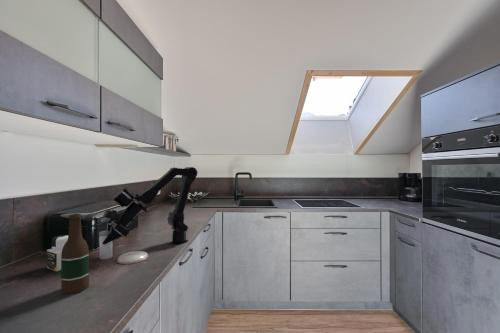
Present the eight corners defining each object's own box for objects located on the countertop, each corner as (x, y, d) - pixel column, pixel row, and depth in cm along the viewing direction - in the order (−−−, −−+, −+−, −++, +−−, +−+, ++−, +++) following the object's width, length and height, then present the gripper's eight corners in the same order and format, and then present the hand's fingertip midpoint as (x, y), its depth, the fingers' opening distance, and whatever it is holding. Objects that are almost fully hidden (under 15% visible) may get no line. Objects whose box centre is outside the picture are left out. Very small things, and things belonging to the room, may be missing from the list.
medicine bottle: (46, 268, 96) (46, 237, 96) (67, 261, 103) (66, 232, 103) (56, 271, 93) (55, 239, 93) (76, 265, 99) (76, 235, 99)
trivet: (135, 251, 114) (135, 249, 114) (154, 256, 109) (154, 253, 109) (110, 261, 103) (110, 258, 103) (130, 266, 98) (130, 263, 98)
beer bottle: (67, 297, 75) (66, 217, 74) (55, 291, 79) (55, 215, 79) (94, 287, 81) (94, 213, 81) (82, 281, 85) (82, 211, 85)
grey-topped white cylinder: (107, 254, 111) (107, 229, 111) (114, 256, 109) (114, 231, 109) (97, 258, 107) (96, 232, 106) (104, 260, 104) (103, 233, 104)
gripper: (111, 200, 117) (84, 227, 110) (120, 204, 103) (88, 236, 96) (130, 214, 122) (104, 241, 115) (140, 221, 108) (112, 252, 101)
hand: (102, 242), depth 107 cm, fingers closed on grey-topped white cylinder, 5 cm apart
